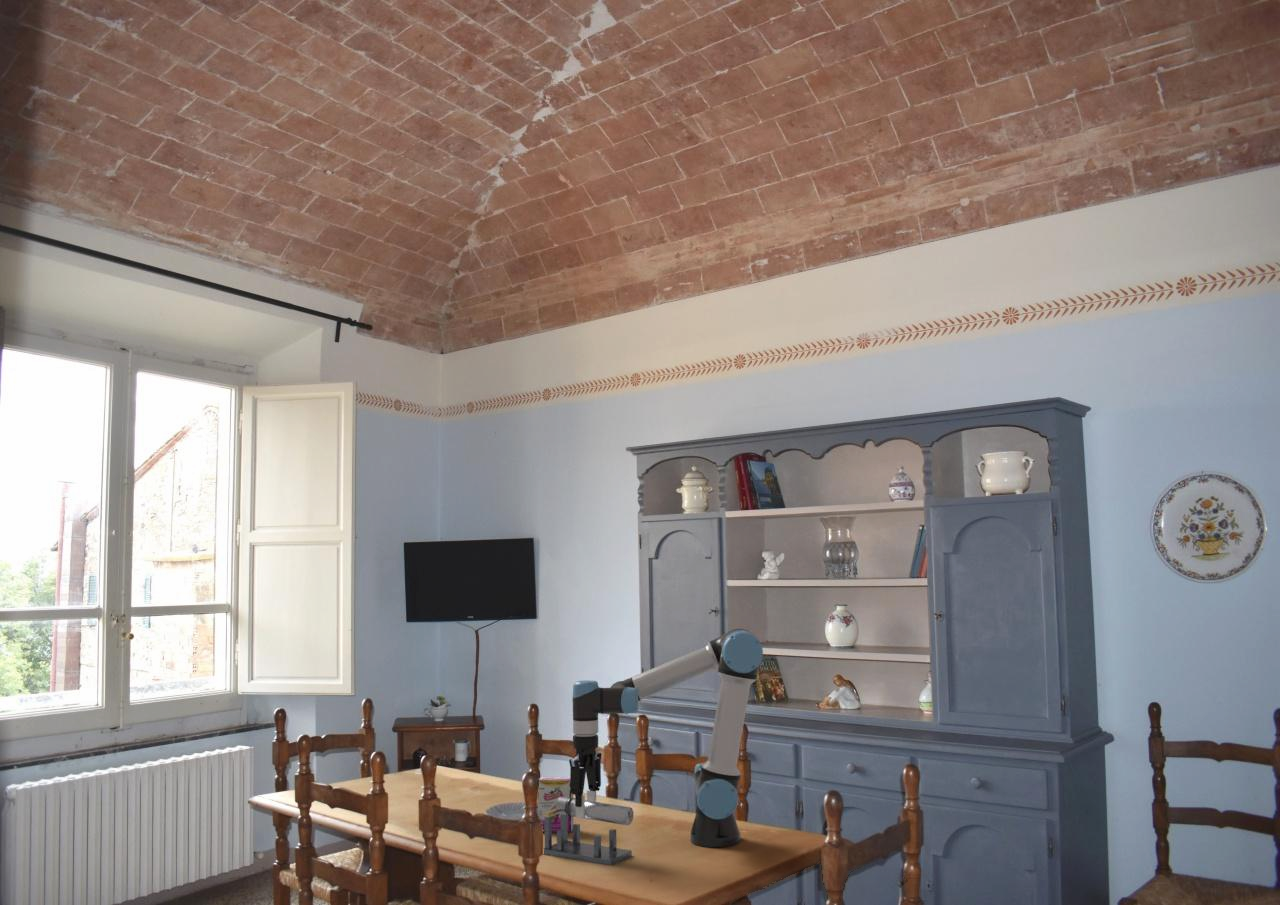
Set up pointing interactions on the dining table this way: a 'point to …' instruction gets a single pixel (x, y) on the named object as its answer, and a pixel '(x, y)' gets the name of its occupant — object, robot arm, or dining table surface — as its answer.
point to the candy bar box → (553, 799)
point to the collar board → (581, 844)
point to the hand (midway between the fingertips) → (585, 815)
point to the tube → (596, 811)
